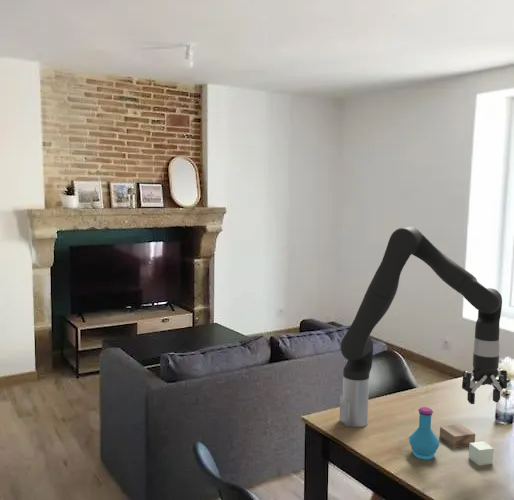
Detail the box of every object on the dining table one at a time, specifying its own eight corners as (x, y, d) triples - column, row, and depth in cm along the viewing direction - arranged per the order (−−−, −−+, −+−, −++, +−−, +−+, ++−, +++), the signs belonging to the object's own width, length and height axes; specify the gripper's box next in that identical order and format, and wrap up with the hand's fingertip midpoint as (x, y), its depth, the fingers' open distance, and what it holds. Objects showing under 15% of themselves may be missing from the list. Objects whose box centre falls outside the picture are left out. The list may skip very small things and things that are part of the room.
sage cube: (478, 465, 172) (479, 450, 171) (468, 457, 177) (469, 442, 176) (492, 463, 173) (493, 448, 173) (482, 456, 178) (483, 441, 177)
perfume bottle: (434, 464, 172) (436, 417, 171) (404, 456, 177) (406, 410, 175) (441, 452, 180) (444, 407, 178) (413, 445, 185) (415, 401, 183)
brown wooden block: (453, 448, 184) (454, 436, 183) (439, 437, 191) (440, 426, 191) (474, 445, 186) (475, 433, 185) (459, 435, 194) (460, 424, 193)
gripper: (472, 357, 170) (470, 408, 171) (514, 354, 172) (511, 405, 174) (458, 350, 177) (456, 399, 179) (498, 348, 180) (496, 396, 181)
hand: (483, 402), depth 176 cm, fingers open, 8 cm apart
